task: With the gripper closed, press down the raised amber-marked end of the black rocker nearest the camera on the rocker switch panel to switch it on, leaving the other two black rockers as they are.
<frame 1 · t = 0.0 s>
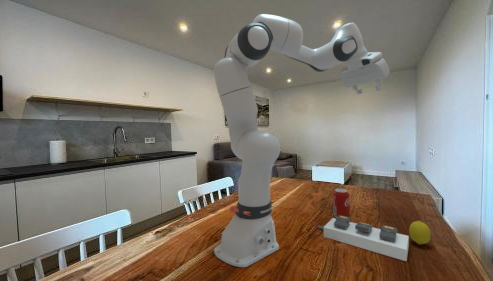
hand: (369, 91, 93), 54 cm above the table, tool tilted 30°, fingers open, 8 cm apart
lemon: (419, 245, 70), on the table
beverage can: (341, 217, 93), on the table
rocker switch panel: (363, 241, 73), on the table
rocker 3: (342, 221, 78), point 5 cm above the table, hinge at -10.0°
rocker 2: (363, 227, 73), point 5 cm above the table, hinge at 10.0°
rocker 1: (388, 232, 69), point 5 cm above the table, hinge at -10.0°
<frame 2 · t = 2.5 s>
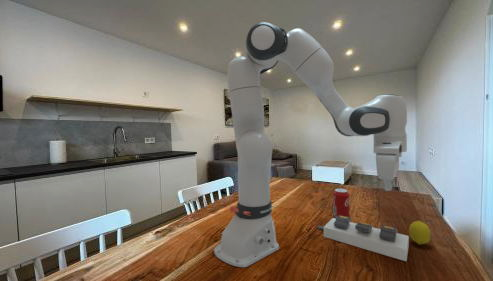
hand: (389, 188, 69), 19 cm above the table, tool pointing down, fingers open, 5 cm apart
nothing on the table moved.
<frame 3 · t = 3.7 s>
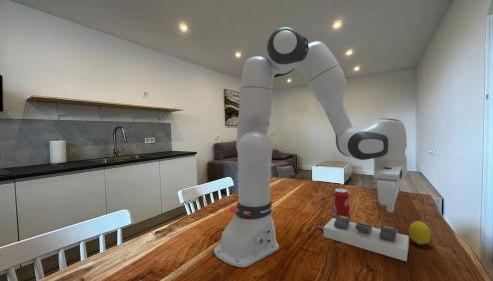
hand: (390, 210, 70), 12 cm above the table, tool pointing down, fingers closed
nothing on the table moved.
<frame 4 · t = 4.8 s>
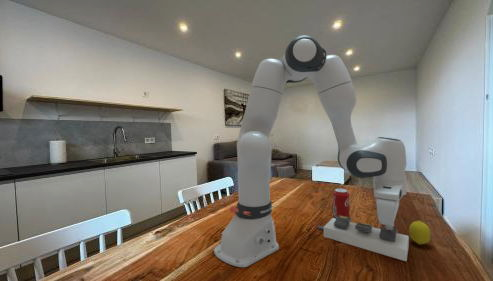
hand: (389, 228, 70), 6 cm above the table, tool pointing down, fingers closed
rocker 1: (388, 232, 69), point 5 cm above the table, hinge at -9.9°, touching gripper
everything else where it was.
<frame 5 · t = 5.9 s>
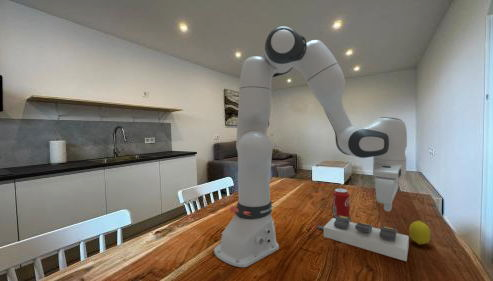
hand: (387, 209, 70), 12 cm above the table, tool pointing down, fingers closed
rocker 1: (388, 232, 69), point 5 cm above the table, hinge at -3.7°
everything else where it was.
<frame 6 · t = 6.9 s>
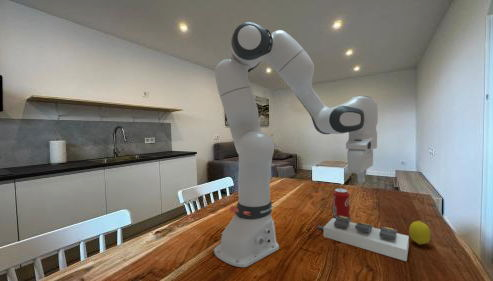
hand: (361, 181, 76), 20 cm above the table, tool pointing down, fingers closed
rocker 1: (388, 232, 69), point 5 cm above the table, hinge at 0.8°
everything else where it was.
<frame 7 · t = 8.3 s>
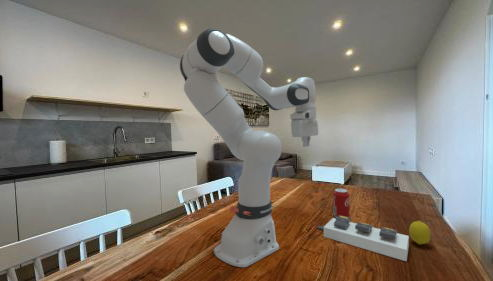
hand: (306, 146, 95), 31 cm above the table, tool pointing down, fingers closed
rocker 1: (388, 232, 69), point 5 cm above the table, hinge at 5.0°
everything else where it was.
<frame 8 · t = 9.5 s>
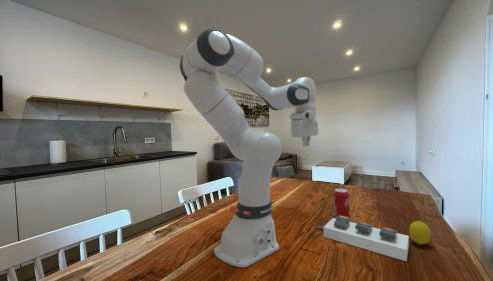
hand: (306, 146, 95), 31 cm above the table, tool pointing down, fingers closed
rocker 1: (388, 232, 69), point 5 cm above the table, hinge at 7.5°
everything else where it was.
at the end: rocker 1 at +8° (first picture: -10°); rocker 2 at +10° (first picture: +10°); rocker 3 at -10° (first picture: -10°) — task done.
